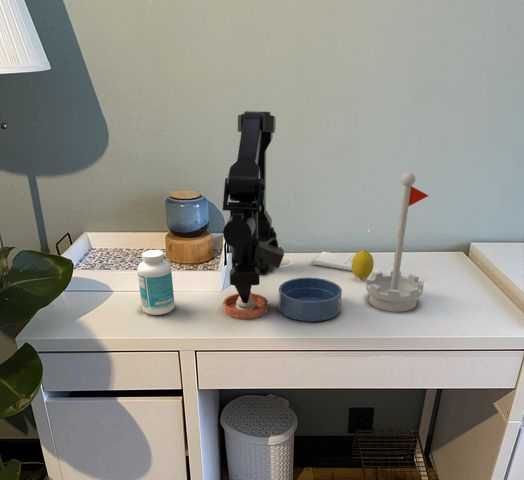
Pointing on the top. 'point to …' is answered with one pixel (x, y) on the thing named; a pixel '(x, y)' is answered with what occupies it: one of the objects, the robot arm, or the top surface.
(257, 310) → the orange round lid
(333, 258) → the hard drive
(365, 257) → the lemon
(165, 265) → the pill bottle
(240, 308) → the rook chess piece
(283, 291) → the bowl
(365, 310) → the top surface
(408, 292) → the flag stand
